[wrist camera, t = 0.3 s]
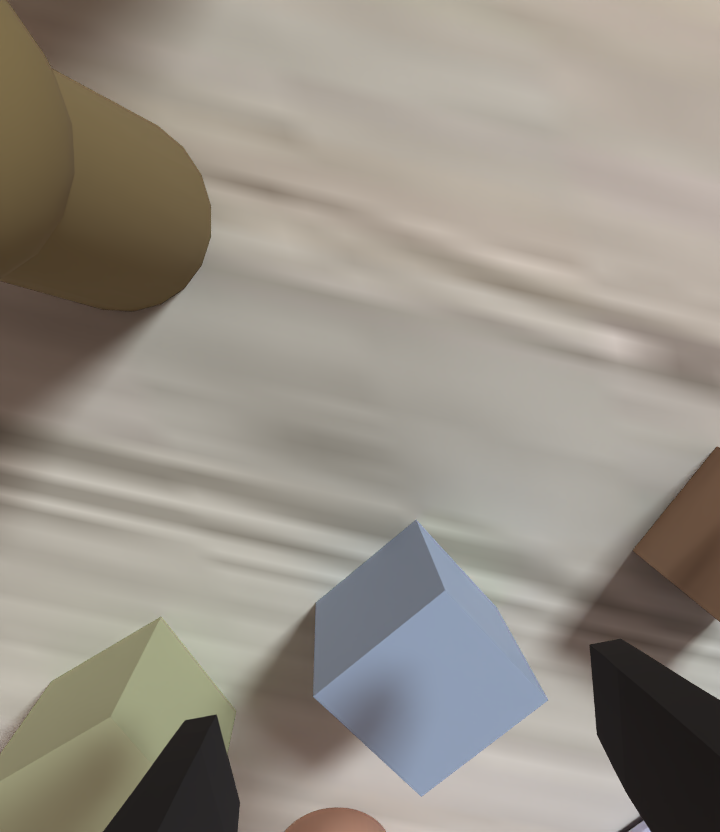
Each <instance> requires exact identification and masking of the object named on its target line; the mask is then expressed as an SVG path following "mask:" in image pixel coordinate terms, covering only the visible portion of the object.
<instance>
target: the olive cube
mask: <svg viewBox="0 0 720 832" xmlns="http://www.w3.org/2000/svg"><path fill="white" fill-rule="evenodd" d="M216 714H217V717H218V721H219V725H220V729H221V733H222V736H223V740H224V744H225V748H226V752H227V753H228V748H229V744H230V739H231V734H232V729H233V724H234V720H235V715H236V710H235V709H234V708H233V706H232V705H231V704H230V703H229V701H228V700H227V699H226V698H225V696H224V695H223V694H222V693H221V691H220V690H219V689H218V687H217V686H216V685H215V684H214V682H213V681H212V680H211V679H210V677H209V676H208V675H207V674H206V672H205V671H204V670H203V669H202V667H201V666H200V665H199V664H198V662H197V661H196V660H195V658H194V657H193V656H192V655H191V653H190V652H189V651H188V650H187V648H186V647H185V646H184V645H183V643H182V642H181V641H180V640H179V638H178V637H177V636H176V635H175V633H174V632H173V631H172V630H171V628H170V627H169V626H168V624H167V623H166V622H165V621H164V619H163V618H162V617H160V618H158V619H156V620H155V621H153V622H151V623H150V624H148V625H146V626H144V627H143V628H141V629H139V630H138V631H136V632H134V633H133V634H131V635H129V636H127V637H126V638H124V639H122V640H121V641H119V642H117V643H116V644H114V645H112V646H111V647H109V648H107V649H105V650H104V651H102V652H100V653H99V654H97V655H95V656H94V657H92V658H90V659H88V660H87V661H85V662H83V663H82V664H80V665H78V666H77V667H75V668H73V669H72V670H70V671H68V672H66V673H65V674H63V675H61V676H60V677H58V678H56V679H55V680H53V681H51V683H50V684H49V686H48V687H47V688H46V690H45V691H44V693H43V694H42V695H41V697H40V698H39V700H38V701H37V703H36V704H35V705H34V707H33V708H32V710H31V711H30V712H29V714H28V715H27V717H26V718H25V720H24V721H23V722H22V724H21V725H20V727H19V728H18V729H17V731H16V732H15V734H14V735H13V737H12V738H11V739H10V741H9V742H8V744H7V745H6V746H5V748H4V749H3V751H2V752H1V754H0V832H103V831H104V829H105V828H106V827H107V825H108V824H109V823H110V821H111V820H112V819H113V817H114V816H115V815H116V813H117V812H118V811H119V809H120V808H121V807H122V805H123V804H124V803H125V801H126V800H127V799H128V797H129V796H130V795H131V793H132V792H133V791H134V789H135V788H136V786H137V785H138V784H139V782H140V781H141V780H142V778H143V777H144V775H145V774H146V773H147V771H148V770H149V769H150V767H151V766H152V764H153V763H154V762H155V760H156V759H157V757H158V756H159V755H160V753H161V752H162V750H163V749H164V748H165V746H166V745H167V744H168V742H169V741H170V739H171V738H172V737H173V735H174V734H175V733H176V731H177V730H178V729H179V727H180V726H181V725H182V723H183V722H184V721H185V720H189V719H194V718H200V717H205V716H210V715H216Z"/></svg>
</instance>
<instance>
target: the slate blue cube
mask: <svg viewBox="0 0 720 832" xmlns="http://www.w3.org/2000/svg"><path fill="white" fill-rule="evenodd" d="M313 697H314V698H315V699H316V700H317V701H318V702H319V703H321V704H322V705H323V706H324V707H325V708H326V709H327V710H328V711H329V712H330V713H331V714H332V715H334V716H335V717H336V718H337V719H338V720H339V721H340V722H341V723H342V724H343V725H344V726H345V727H346V728H348V729H349V730H350V731H351V732H352V733H353V734H354V735H355V736H356V737H357V738H358V739H359V740H361V741H362V742H363V743H364V744H365V745H366V746H367V747H368V748H369V749H370V750H371V751H372V752H374V753H375V754H376V755H377V756H378V757H379V758H380V759H381V760H382V761H383V762H384V763H385V764H386V765H388V766H389V767H390V768H391V769H392V770H393V771H394V772H395V773H396V774H397V775H398V776H399V777H401V778H402V779H403V780H404V781H405V782H406V783H407V784H408V785H409V786H410V787H411V788H412V789H414V790H415V791H416V792H417V793H418V794H419V795H420V796H421V797H422V796H423V795H424V794H426V793H427V792H428V791H430V790H431V789H432V788H434V787H435V786H436V785H437V784H439V783H440V782H441V781H443V780H444V779H445V778H447V777H448V776H449V775H451V774H452V773H453V772H455V771H456V770H457V769H458V768H460V767H461V766H462V765H464V764H465V763H466V762H468V761H469V760H470V759H472V758H473V757H474V756H476V755H477V754H478V753H479V752H481V751H482V750H483V749H485V748H486V747H487V746H489V745H490V744H491V743H493V742H494V741H495V740H496V739H498V738H499V737H500V736H502V735H503V734H504V733H506V732H507V731H508V730H510V729H511V728H512V727H514V726H515V725H516V724H517V723H519V722H520V721H521V720H523V719H524V718H525V717H527V716H528V715H529V714H531V713H532V712H533V711H535V710H536V709H537V708H538V707H540V706H541V705H542V704H544V703H545V702H546V701H548V699H547V697H546V695H545V693H544V691H543V690H542V688H541V686H540V684H539V682H538V681H537V679H536V677H535V675H534V673H533V672H532V670H531V668H530V666H529V664H528V663H527V661H526V659H525V657H524V655H523V654H522V652H521V650H520V648H519V647H518V645H517V643H516V641H515V639H514V638H513V636H512V634H511V632H510V630H509V629H508V627H507V625H506V623H505V621H504V620H503V618H502V616H501V614H500V612H499V611H498V609H497V607H496V606H495V605H494V604H493V603H492V602H491V601H490V600H489V599H488V597H487V596H486V595H485V594H484V593H483V592H482V591H481V590H480V589H479V588H478V587H477V585H476V584H475V583H474V582H473V581H472V580H471V579H470V578H469V577H468V576H467V575H466V573H465V572H464V571H463V570H462V569H461V568H460V567H459V566H458V565H457V564H456V563H455V561H454V560H453V559H452V558H451V557H450V556H449V555H448V554H447V553H446V552H445V551H444V549H443V548H442V547H441V546H440V545H439V544H438V543H437V542H436V541H435V540H434V539H433V537H432V536H431V535H430V534H429V533H428V532H427V531H426V530H425V529H424V528H423V527H422V525H421V524H420V523H419V522H418V521H417V520H415V521H414V522H413V523H411V524H410V525H409V526H408V527H407V528H405V529H404V530H403V531H402V532H401V533H399V534H398V535H397V536H396V537H394V538H393V539H392V540H391V541H390V542H388V543H387V544H386V545H385V546H384V547H382V548H381V549H380V550H379V551H378V552H376V553H375V554H374V555H373V556H372V557H370V558H369V559H368V560H367V561H365V562H364V563H363V564H362V565H361V566H359V567H358V568H357V569H356V570H355V571H353V572H352V573H351V574H350V575H349V576H347V577H346V578H345V579H344V580H343V581H341V582H340V583H339V584H338V585H336V586H335V587H334V588H333V589H332V590H330V591H329V592H328V593H327V594H326V595H324V596H323V597H322V598H321V599H320V600H318V601H317V602H316V614H315V649H314V684H313Z"/></svg>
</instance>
